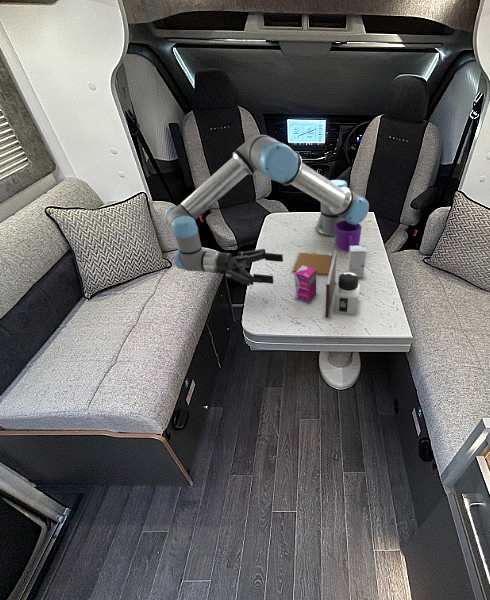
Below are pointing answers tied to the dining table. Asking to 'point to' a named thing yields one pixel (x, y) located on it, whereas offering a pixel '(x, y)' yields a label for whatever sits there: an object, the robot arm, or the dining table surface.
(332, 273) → the backboard
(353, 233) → the mug
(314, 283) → the supplement box
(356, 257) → the cosmetic box
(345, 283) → the container
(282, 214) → the dining table surface
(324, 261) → the cork mat
